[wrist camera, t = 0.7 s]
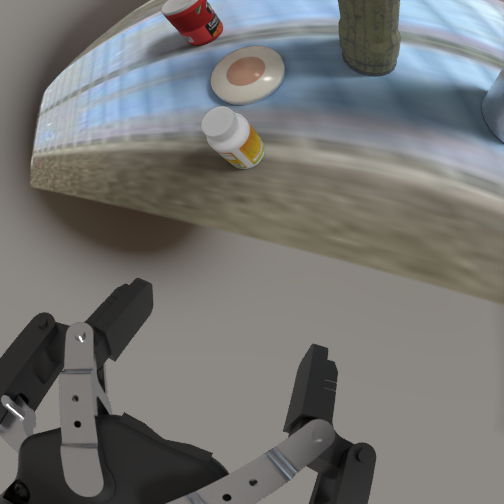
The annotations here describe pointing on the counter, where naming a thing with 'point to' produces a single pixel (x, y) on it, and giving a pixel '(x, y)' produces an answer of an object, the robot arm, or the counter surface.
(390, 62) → the thermos
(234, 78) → the coaster
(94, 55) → the counter surface
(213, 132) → the supplement bottle
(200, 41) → the canned food
